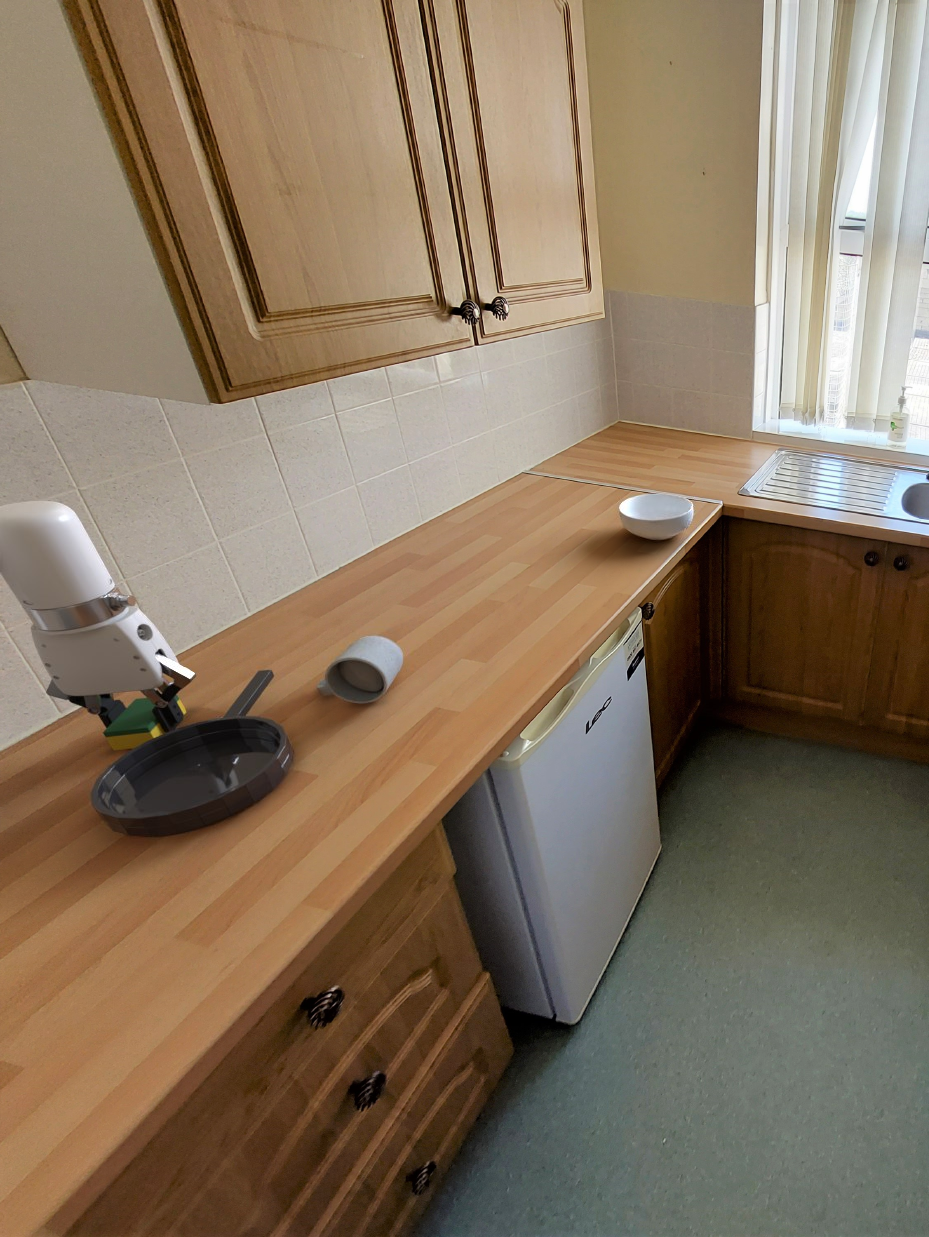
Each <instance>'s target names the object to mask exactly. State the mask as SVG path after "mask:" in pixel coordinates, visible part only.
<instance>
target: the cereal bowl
mask: <svg viewBox="0 0 929 1237" xmlns="http://www.w3.org/2000/svg"><path fill="white" fill-rule="evenodd" d="M618 514H619V518H620V522H621V524H622V525H623V527H624V528H625V529H626V530H627V531H629V532H630V533H631V534H633V535H635V536H637V537H641V538H645V539H647V540H650V541H651V540H652V541H663V540H669V539H671V538H673V537H675V536H677V535H679V534H681V533H682V532H685V531H686V530H687V529H688V528H689V527H690V526H691V524H692V522H693V519H694V504H693V502H692V501H691V500H689V499H688V498H686V497H683V496H680V495H676V494H672V493H671V494H669V493H645V494H640V495H635V496H631V497H628V498H627V499H625V500H623V501H622V502H621V503H620V504H619V506H618Z"/></svg>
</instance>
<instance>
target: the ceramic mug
mask: <svg viewBox="0 0 929 1237" xmlns="http://www.w3.org/2000/svg"><path fill="white" fill-rule="evenodd" d="M403 663H404V653H403V651H402V649H401V647H400V646H399V645H398V643H396V642H395V641H394V640H392V639H390V638H388V637H386V636H382V635H375V634H374V635H366V636H362V637H360V638H358V639H357V640H354V641H353V642H352V643H351V644H349V645H348V646H347V648H346V649H345V650H344V651H343V652H342V653H341V654H339V656H337V658H335V659H334V660H333V661H332V662H331V663H330V664H329V666H328V667H327V668H326V671H325V674H324V678H323V679H321V680H320V682H319V683H318V684H317V686H316V689H317V690H318V692H320V693H321V695H323V696H325V697H327V696H332V695H334V696H336V698H339V699H341V700H342V701H345V702H348V703H353V704H359V705H362V704H370V703H373V702H376V701H379V699H381V698H382V697H383V696H384V695H385V694H386V693H387V691H388V689H389V687H391V685H392V683H393V682H394V680H395V679H396V676H397V675H398V674H399V672H400V671H401V669H402V666H403Z"/></svg>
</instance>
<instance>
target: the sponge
mask: <svg viewBox="0 0 929 1237" xmlns="http://www.w3.org/2000/svg"><path fill="white" fill-rule="evenodd" d="M174 698H175V700H176V701H177V703H178V705H179V707H180V709H181V710H182V712H183V714H184V715H186V713H187V710H186V708H185V706H184V705H183V703H182V701H181V699H180V696H178V694H176V696H175V697H174ZM154 707H155V705H154V704H153V703H152V702H151V701H150V700H149V699H148V698H147V697H141V698H139V697H138V698H135V699H134V700H133V701H132V702H131V703H130V704H129V705H128V706H127V707H126V709H125V710H124V711H123V712H122V713H121V714H120V715H119V716H118V717H117V718H116V719H115V720H114V722H113V723H112V724H111V725H110V726H109V727H108V728H106V729H104V730H103V731H102V734H103V736H104V738H105V739H106V740H107V742H108V744H109V745H110V747H111V748H112V750H113V751H123V750H132V749H134V748H136V747H137V746H139V745H141V744H143V743H145V742H146V741H148V740H151V739H153V738H155V737H158V736H160V735H162V734H165V733H166V732H164V730H163V728H162V727H161V725H160V723H159V722H158V720H157V718H156V717H155V716H154V714H153V712H152V709H153V708H154Z"/></svg>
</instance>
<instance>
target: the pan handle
mask: <svg viewBox="0 0 929 1237" xmlns="http://www.w3.org/2000/svg"><path fill="white" fill-rule="evenodd" d="M274 678H275V675H274V672H273V669H262V670H258V671H257V672H255V675H254V676H253V677H252V679H251V680H250V681H249V682H248V684H247V685H246V686H245V687H244V689H243V690H242V692H240V694H239V695H238V697H237V698H236V699H235V700H234V702H233V703H232V704H231V706H229V708H228V709H227V711H226V712H225V713H224V715H223V716H222V717H232V716H248V713H249V712H250V711H251V709H253V706H254V705H255V704H256V703H257V701H258V700H259V698H260V697H261V695H262V694H263V693H264V691H265V690H266V688H268V686H269V684H270V683H271V682H272V680H273V679H274Z"/></svg>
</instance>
